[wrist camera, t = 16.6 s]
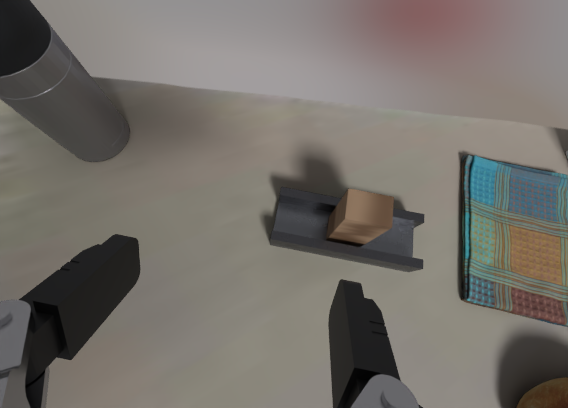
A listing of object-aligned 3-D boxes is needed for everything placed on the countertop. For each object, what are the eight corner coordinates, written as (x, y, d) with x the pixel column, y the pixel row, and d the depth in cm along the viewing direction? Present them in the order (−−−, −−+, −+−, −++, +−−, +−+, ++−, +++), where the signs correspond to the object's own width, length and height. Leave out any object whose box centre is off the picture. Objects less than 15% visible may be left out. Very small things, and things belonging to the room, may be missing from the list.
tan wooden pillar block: (325, 240, 40) (345, 218, 30) (328, 217, 41) (348, 188, 31) (360, 247, 40) (392, 227, 30) (362, 223, 41) (393, 197, 31)
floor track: (270, 244, 40) (270, 239, 37) (280, 196, 43) (281, 186, 39) (408, 272, 40) (423, 269, 36) (410, 222, 43) (424, 214, 39)
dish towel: (561, 180, 47) (577, 174, 44) (577, 331, 39) (598, 332, 37) (458, 157, 47) (469, 149, 45) (454, 300, 40) (466, 300, 37)
